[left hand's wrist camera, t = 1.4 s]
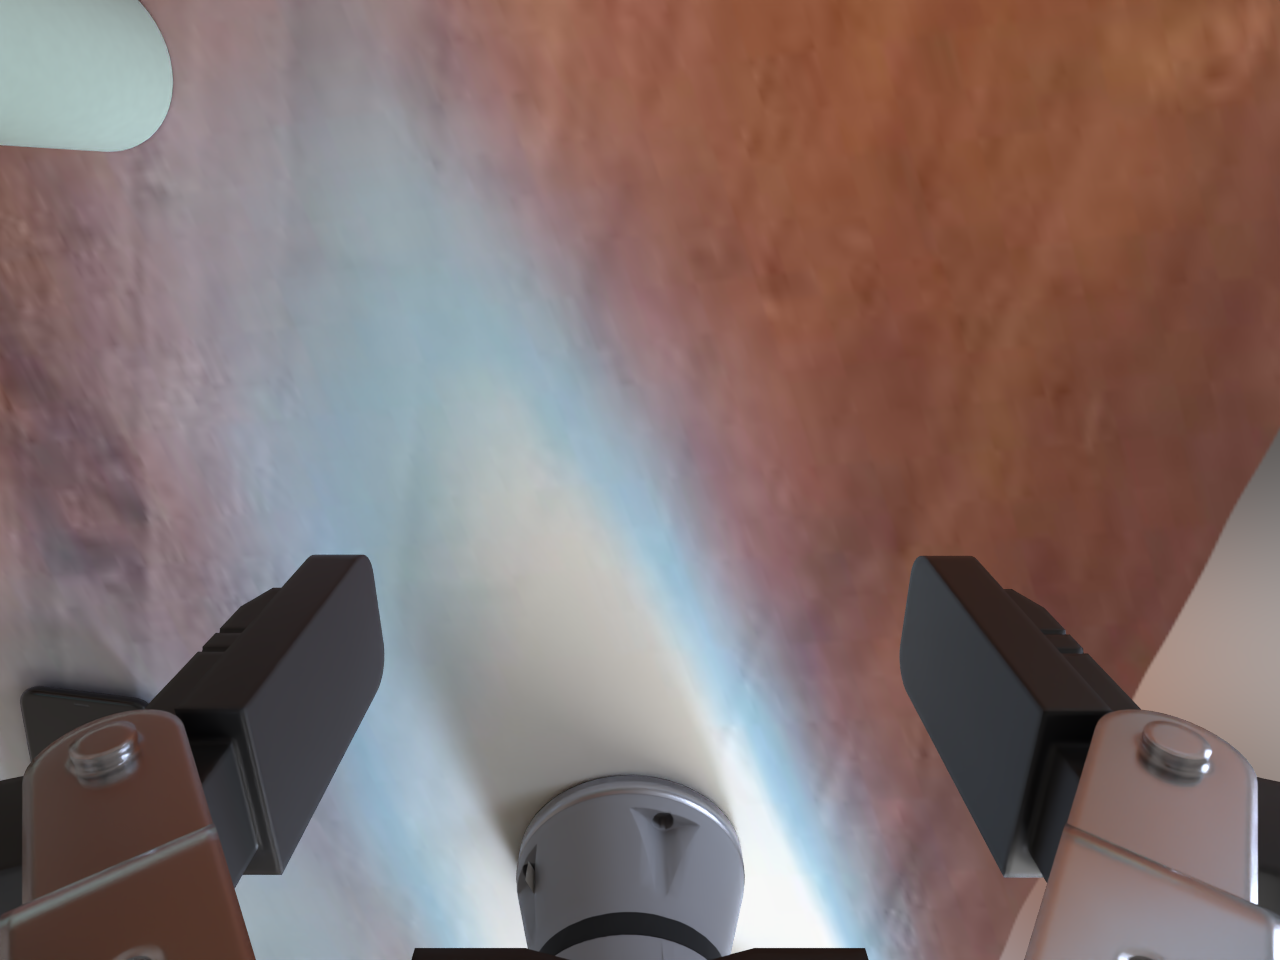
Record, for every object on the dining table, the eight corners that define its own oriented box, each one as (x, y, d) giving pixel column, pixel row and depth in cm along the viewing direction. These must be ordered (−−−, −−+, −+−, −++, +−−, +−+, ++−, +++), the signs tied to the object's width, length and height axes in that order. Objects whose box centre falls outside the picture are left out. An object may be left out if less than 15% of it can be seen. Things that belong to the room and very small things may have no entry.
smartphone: (175, 882, 53) (156, 696, 47) (167, 894, 52) (147, 705, 46) (58, 869, 52) (25, 679, 47) (49, 881, 52) (13, 689, 46)
